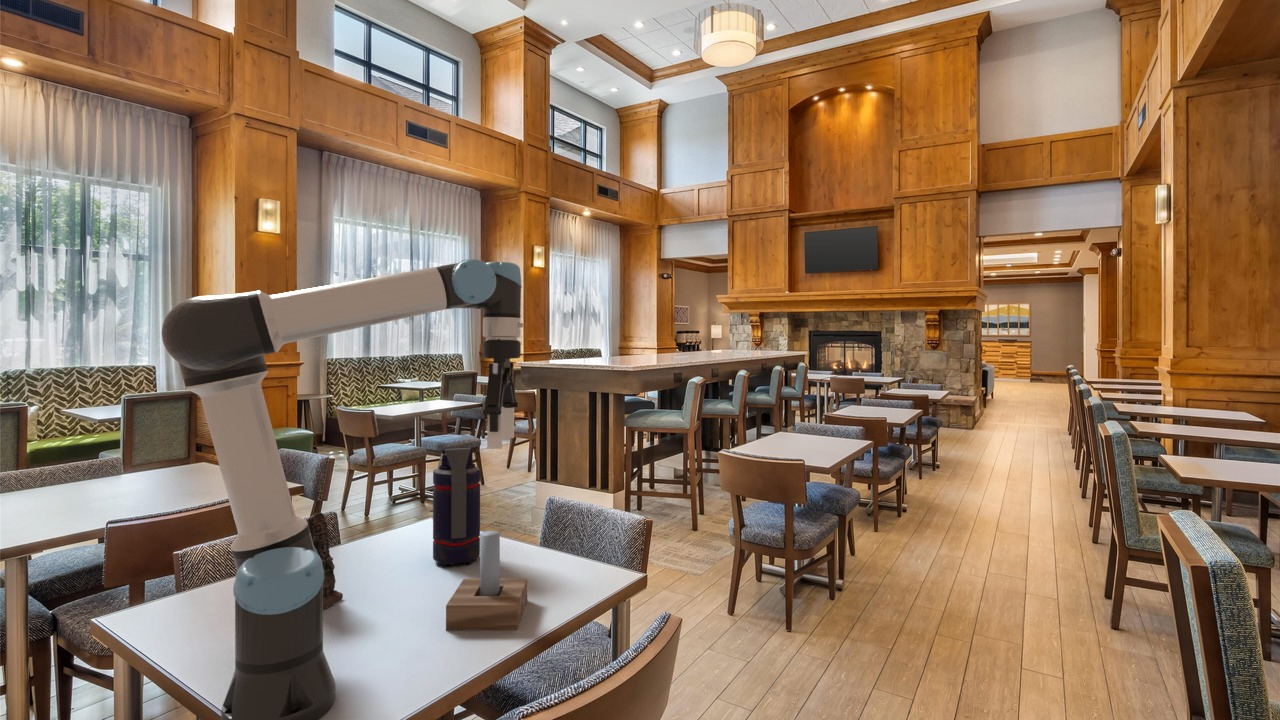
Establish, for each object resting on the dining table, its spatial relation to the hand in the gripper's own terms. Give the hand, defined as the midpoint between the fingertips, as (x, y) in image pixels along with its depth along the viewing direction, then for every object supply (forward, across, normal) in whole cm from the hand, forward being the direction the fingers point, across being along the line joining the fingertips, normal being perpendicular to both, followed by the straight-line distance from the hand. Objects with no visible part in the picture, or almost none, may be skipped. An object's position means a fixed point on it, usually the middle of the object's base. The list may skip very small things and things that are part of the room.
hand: (501, 443), depth 124 cm
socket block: (+37, +3, +3) cm, 37 cm away
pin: (+36, +3, +3) cm, 36 cm away
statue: (+37, +9, +41) cm, 56 cm away
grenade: (+37, +35, +18) cm, 54 cm away
